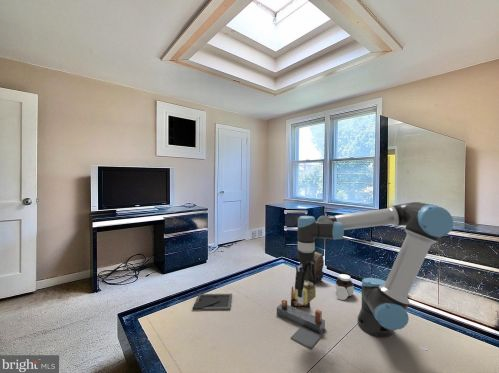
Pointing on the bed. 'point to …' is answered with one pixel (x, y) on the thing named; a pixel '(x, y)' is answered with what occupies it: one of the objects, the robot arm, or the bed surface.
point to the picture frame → (213, 302)
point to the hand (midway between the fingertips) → (305, 299)
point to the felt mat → (306, 337)
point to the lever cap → (307, 292)
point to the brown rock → (318, 267)
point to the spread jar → (344, 287)
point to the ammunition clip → (295, 302)
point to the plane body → (302, 317)
